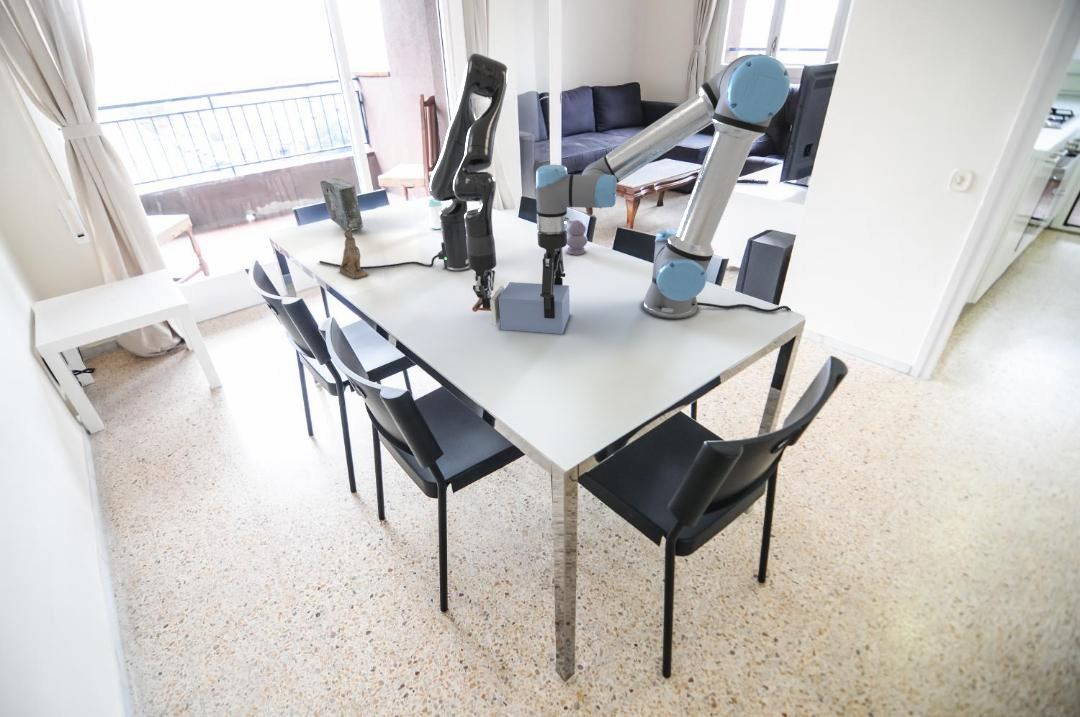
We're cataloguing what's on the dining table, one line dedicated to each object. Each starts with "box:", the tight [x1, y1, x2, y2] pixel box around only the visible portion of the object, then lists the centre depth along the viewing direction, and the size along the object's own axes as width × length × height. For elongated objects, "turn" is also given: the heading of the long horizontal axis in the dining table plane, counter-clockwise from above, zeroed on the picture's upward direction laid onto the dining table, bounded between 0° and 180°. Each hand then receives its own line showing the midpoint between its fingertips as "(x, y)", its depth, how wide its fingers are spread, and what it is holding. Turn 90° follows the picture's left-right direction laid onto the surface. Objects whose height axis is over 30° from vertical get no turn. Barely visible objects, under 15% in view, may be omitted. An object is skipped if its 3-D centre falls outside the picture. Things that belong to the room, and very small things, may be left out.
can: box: [426, 198, 445, 230], centre depth 220 cm, size 7×7×12 cm
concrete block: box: [319, 177, 364, 232], centre depth 222 cm, size 27×9×20 cm, turn 36°
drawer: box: [471, 285, 505, 326], centre depth 140 cm, size 22×10×8 cm, turn 77°
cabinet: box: [499, 281, 570, 335], centre depth 139 cm, size 17×11×10 cm, turn 77°
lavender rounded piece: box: [566, 219, 588, 256], centre depth 186 cm, size 8×8×12 cm
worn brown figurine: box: [339, 230, 367, 280], centre depth 174 cm, size 12×6×18 cm, turn 43°
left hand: (487, 308), depth 142 cm, fingers closed
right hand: (553, 308), depth 138 cm, fingers closed on cabinet, 11 cm apart
